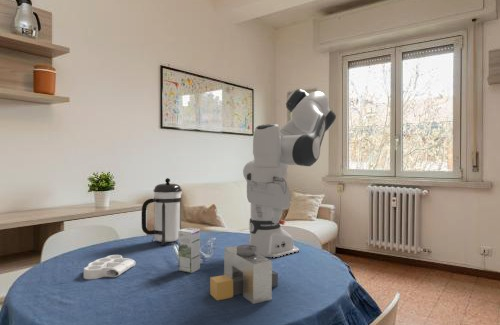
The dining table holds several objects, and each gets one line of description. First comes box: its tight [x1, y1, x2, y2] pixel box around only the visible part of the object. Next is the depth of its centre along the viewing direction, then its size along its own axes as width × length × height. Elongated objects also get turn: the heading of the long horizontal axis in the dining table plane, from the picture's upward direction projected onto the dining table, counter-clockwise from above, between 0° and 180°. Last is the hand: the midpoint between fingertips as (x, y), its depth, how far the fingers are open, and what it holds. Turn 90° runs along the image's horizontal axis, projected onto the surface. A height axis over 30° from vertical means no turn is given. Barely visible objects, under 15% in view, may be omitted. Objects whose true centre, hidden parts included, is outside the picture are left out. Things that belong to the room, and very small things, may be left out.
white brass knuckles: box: [83, 254, 137, 280], centre depth 122 cm, size 3×18×15 cm
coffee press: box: [141, 177, 183, 247], centre depth 161 cm, size 17×16×30 cm
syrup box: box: [177, 227, 201, 274], centre depth 123 cm, size 6×6×14 cm
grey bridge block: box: [223, 244, 273, 305], centre depth 105 cm, size 6×19×13 cm, turn 29°
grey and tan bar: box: [209, 270, 279, 301], centre depth 104 cm, size 21×5×5 cm, turn 119°
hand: (267, 220), depth 108 cm, fingers open, 8 cm apart
